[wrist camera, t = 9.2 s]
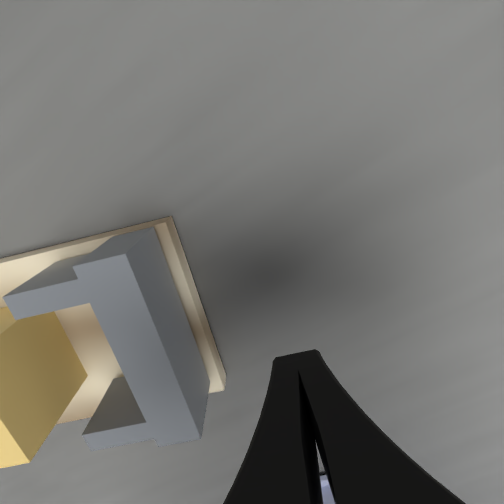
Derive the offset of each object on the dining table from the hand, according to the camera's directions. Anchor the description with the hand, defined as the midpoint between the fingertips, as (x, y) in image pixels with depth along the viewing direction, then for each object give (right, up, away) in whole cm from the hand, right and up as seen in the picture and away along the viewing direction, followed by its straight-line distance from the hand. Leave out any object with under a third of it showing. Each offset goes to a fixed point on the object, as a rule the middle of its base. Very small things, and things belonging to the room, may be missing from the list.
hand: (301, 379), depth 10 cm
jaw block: (-14, -1, +7) cm, 15 cm away
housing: (-7, 0, +6) cm, 10 cm away
